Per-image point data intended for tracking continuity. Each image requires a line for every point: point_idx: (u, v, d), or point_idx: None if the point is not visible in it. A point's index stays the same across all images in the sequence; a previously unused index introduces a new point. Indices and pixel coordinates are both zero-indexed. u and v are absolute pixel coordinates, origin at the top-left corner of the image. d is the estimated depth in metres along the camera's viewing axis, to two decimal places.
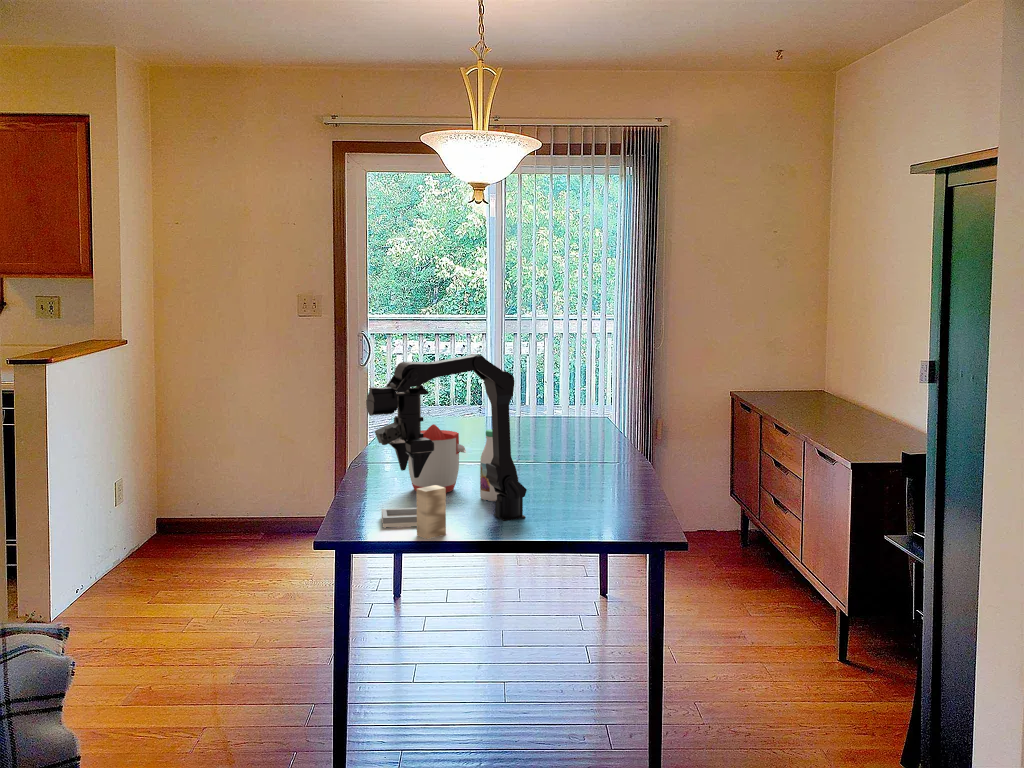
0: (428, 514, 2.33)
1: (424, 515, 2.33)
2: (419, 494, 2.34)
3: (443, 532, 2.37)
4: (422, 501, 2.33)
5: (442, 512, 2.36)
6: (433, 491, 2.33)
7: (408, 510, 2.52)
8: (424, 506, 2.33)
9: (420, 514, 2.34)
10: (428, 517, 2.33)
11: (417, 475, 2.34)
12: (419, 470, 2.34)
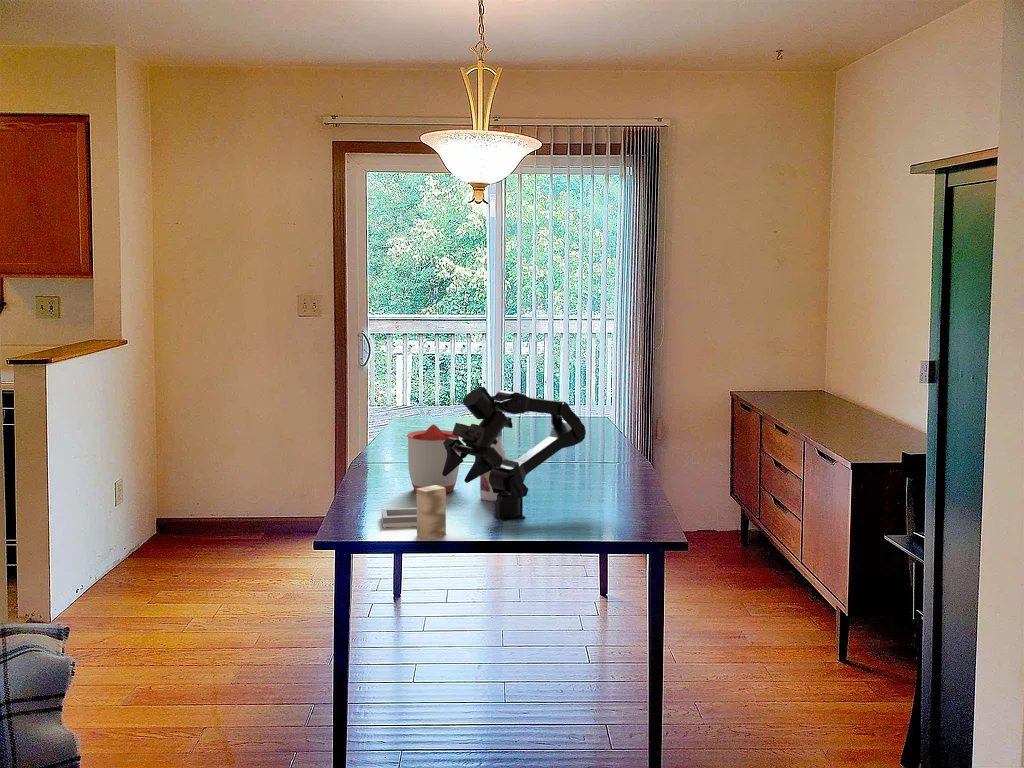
0: (429, 514, 2.33)
1: (424, 515, 2.33)
2: (419, 494, 2.34)
3: (443, 532, 2.37)
4: (422, 501, 2.33)
5: (442, 512, 2.36)
6: (433, 491, 2.33)
7: (408, 510, 2.52)
8: (424, 506, 2.33)
9: (420, 514, 2.34)
10: (428, 517, 2.33)
11: (468, 480, 2.36)
12: (472, 477, 2.37)
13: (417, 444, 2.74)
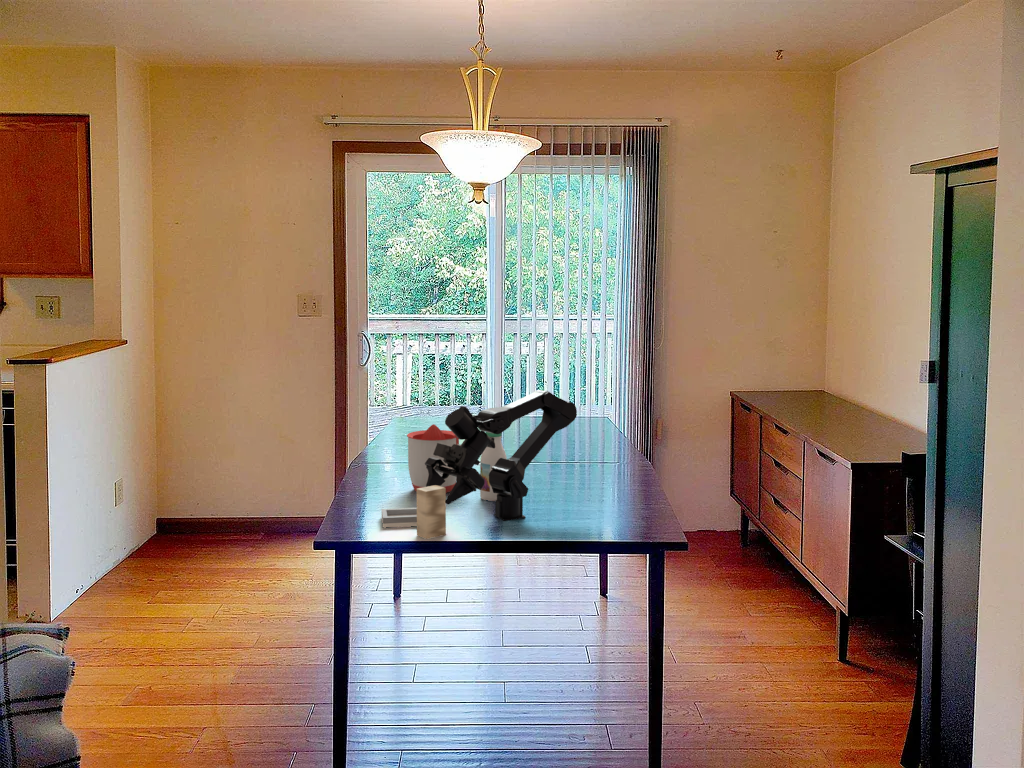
0: (429, 514, 2.33)
1: (424, 515, 2.33)
2: (419, 494, 2.34)
3: (443, 532, 2.37)
4: (422, 501, 2.33)
5: (442, 512, 2.36)
6: (433, 491, 2.33)
7: (408, 510, 2.52)
8: (424, 506, 2.33)
9: (420, 514, 2.34)
10: (428, 517, 2.33)
11: (449, 502, 2.33)
12: (453, 499, 2.33)
13: (417, 444, 2.74)
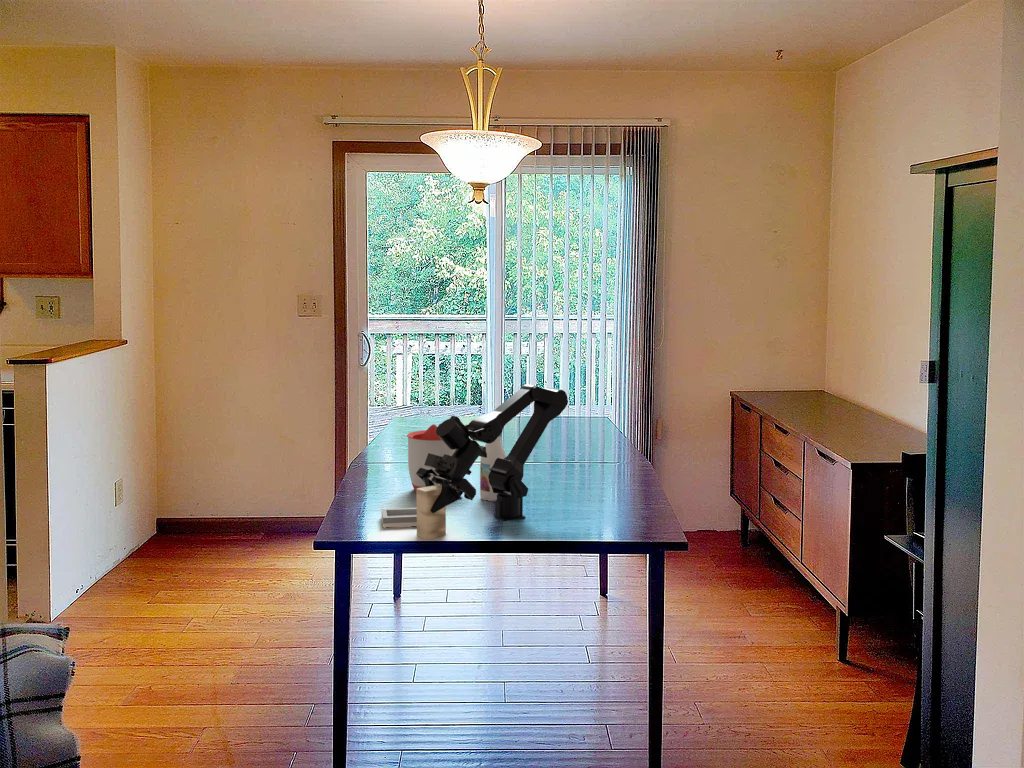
0: (428, 514, 2.33)
1: (424, 515, 2.33)
2: (419, 494, 2.34)
3: (443, 532, 2.37)
4: (422, 501, 2.33)
5: (442, 512, 2.36)
6: (433, 491, 2.33)
7: (408, 510, 2.52)
8: (424, 506, 2.33)
9: (420, 514, 2.34)
10: (428, 516, 2.33)
11: (434, 510, 2.33)
12: (439, 507, 2.34)
13: (417, 444, 2.74)
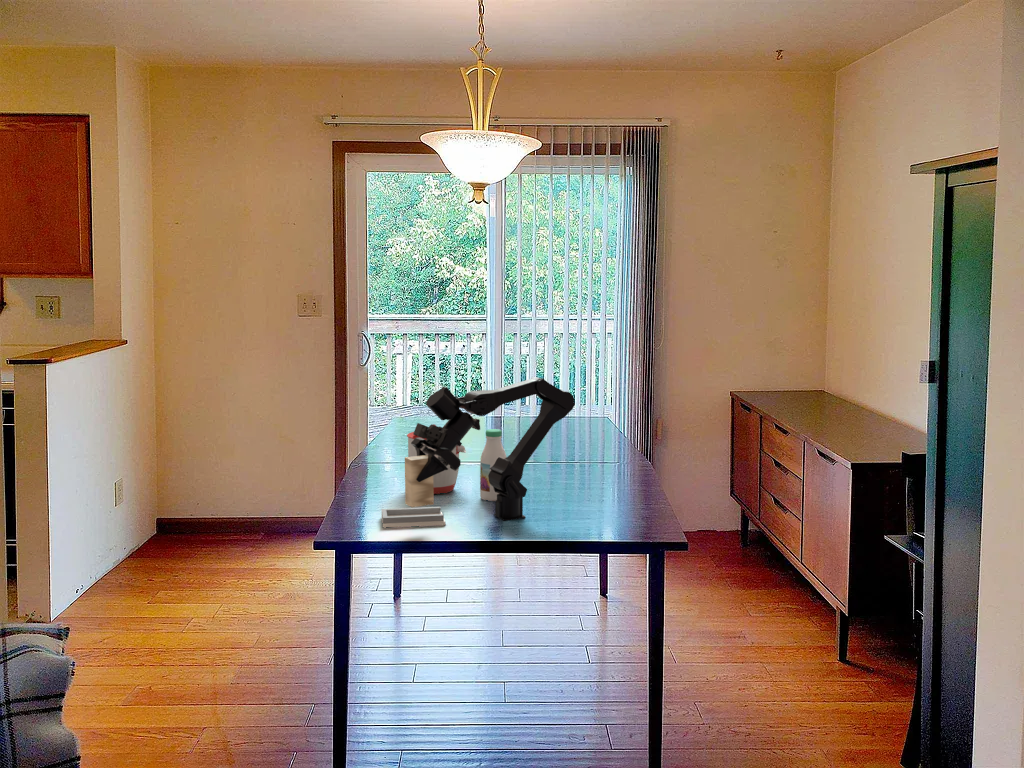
0: (414, 482, 2.36)
1: (410, 483, 2.36)
2: (406, 463, 2.37)
3: (430, 502, 2.39)
4: (409, 469, 2.36)
5: (429, 481, 2.38)
6: (419, 460, 2.36)
7: (408, 510, 2.52)
8: (410, 475, 2.36)
9: (407, 482, 2.38)
10: (414, 485, 2.36)
11: (420, 479, 2.36)
12: (425, 476, 2.36)
13: None
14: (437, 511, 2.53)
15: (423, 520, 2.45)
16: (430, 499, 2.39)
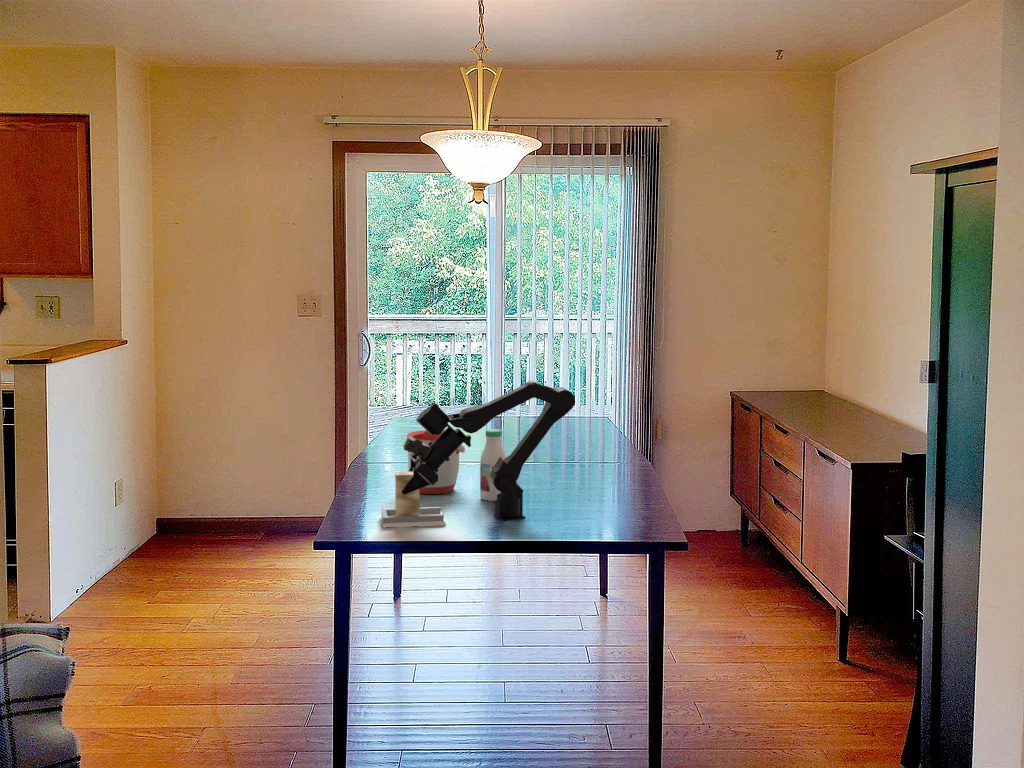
0: (399, 497, 2.45)
1: (396, 497, 2.46)
2: (395, 477, 2.47)
3: None
4: None
5: (415, 497, 2.46)
6: (404, 476, 2.45)
7: None
8: (395, 489, 2.46)
9: (395, 496, 2.48)
10: (399, 499, 2.45)
11: (405, 492, 2.43)
12: (409, 490, 2.43)
13: None
14: (437, 511, 2.53)
15: (423, 520, 2.45)
16: (416, 514, 2.47)
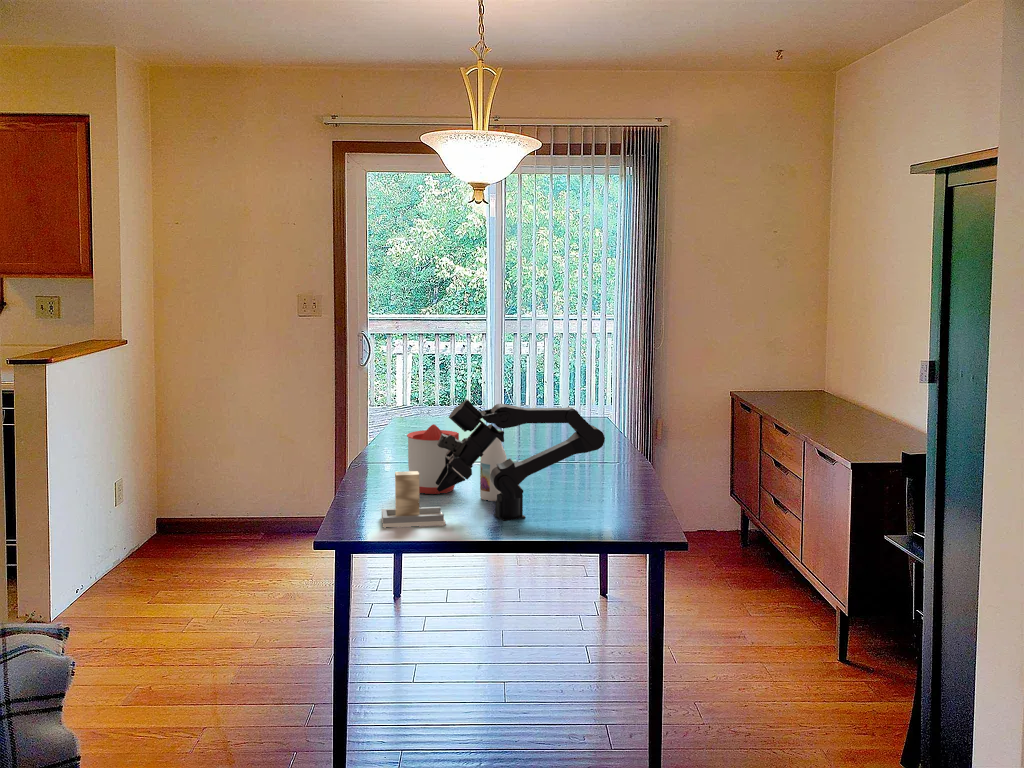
0: (399, 497, 2.45)
1: (396, 497, 2.46)
2: (395, 477, 2.47)
3: None
4: None
5: (415, 497, 2.46)
6: (404, 476, 2.45)
7: None
8: (395, 489, 2.46)
9: (395, 496, 2.48)
10: (399, 499, 2.45)
11: (440, 489, 2.44)
12: (444, 486, 2.43)
13: (417, 444, 2.74)
14: (437, 511, 2.53)
15: (423, 520, 2.45)
16: (416, 514, 2.47)
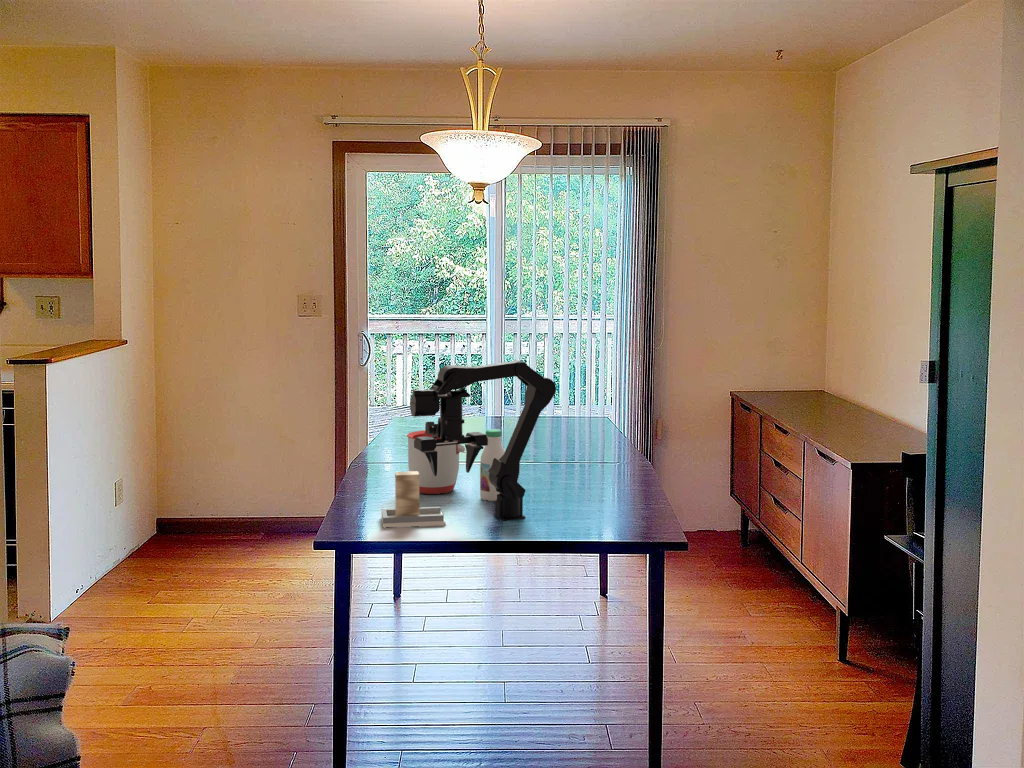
0: (399, 497, 2.45)
1: (396, 497, 2.46)
2: (395, 477, 2.47)
3: None
4: None
5: (415, 497, 2.46)
6: (404, 476, 2.45)
7: None
8: (395, 489, 2.46)
9: (395, 496, 2.48)
10: (399, 499, 2.45)
11: (433, 473, 2.44)
12: (433, 469, 2.43)
13: None
14: (437, 511, 2.53)
15: (423, 520, 2.45)
16: (416, 514, 2.47)
